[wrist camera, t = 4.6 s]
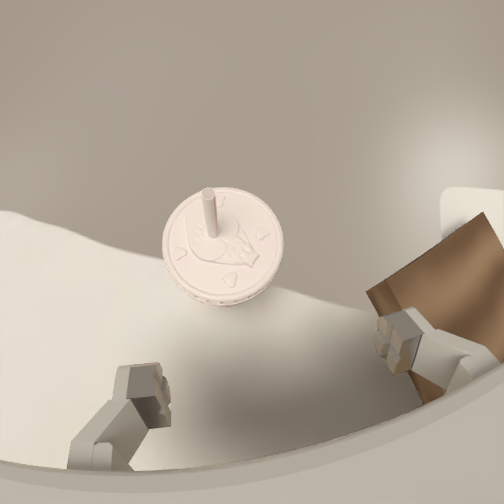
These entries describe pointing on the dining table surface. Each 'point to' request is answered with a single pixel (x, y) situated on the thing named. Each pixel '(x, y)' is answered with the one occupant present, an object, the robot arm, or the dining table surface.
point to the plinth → (452, 291)
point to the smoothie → (222, 246)
